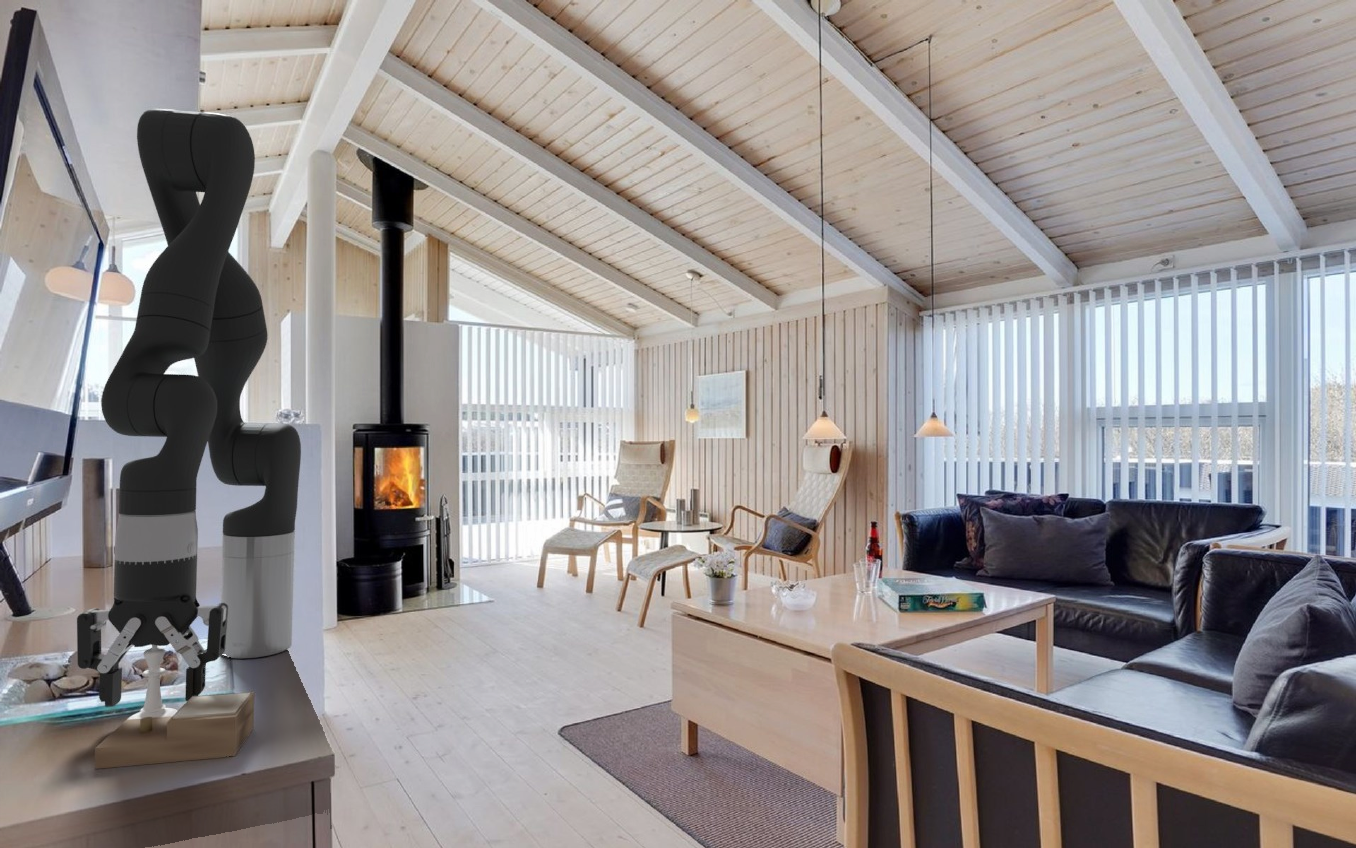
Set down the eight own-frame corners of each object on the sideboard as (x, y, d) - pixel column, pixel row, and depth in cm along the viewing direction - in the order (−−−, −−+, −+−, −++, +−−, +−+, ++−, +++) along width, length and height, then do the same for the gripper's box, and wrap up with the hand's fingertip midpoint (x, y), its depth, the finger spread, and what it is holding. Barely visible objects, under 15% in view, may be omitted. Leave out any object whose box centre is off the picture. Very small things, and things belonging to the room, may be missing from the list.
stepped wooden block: (126, 738, 78) (127, 699, 78) (253, 728, 81) (254, 690, 81) (94, 769, 71) (95, 725, 71) (234, 756, 74) (235, 714, 74)
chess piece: (182, 724, 81) (184, 634, 81) (127, 736, 78) (129, 642, 78) (176, 710, 85) (178, 624, 85) (123, 721, 82) (125, 631, 82)
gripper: (239, 546, 87) (235, 685, 87) (97, 548, 83) (92, 694, 83) (219, 557, 80) (215, 709, 80) (62, 560, 76) (57, 720, 76)
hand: (152, 701), depth 82 cm, fingers open, 7 cm apart
